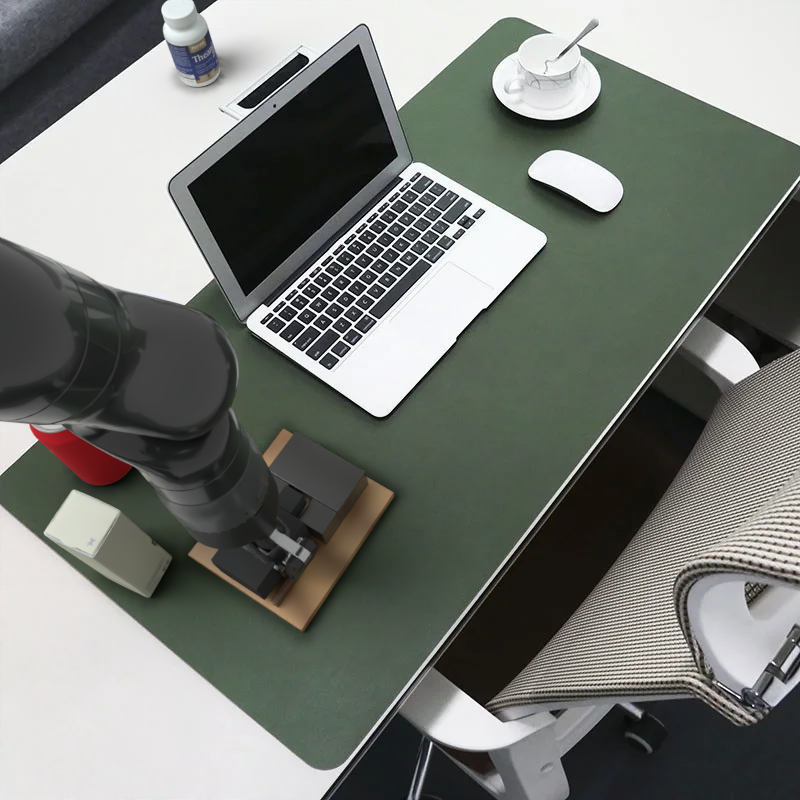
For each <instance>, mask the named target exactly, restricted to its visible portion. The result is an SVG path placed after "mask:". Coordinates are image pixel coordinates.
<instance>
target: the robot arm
mask: <svg viewBox="0 0 800 800" xmlns="http://www.w3.org/2000/svg"><path fill="white" fill-rule="evenodd" d="M239 367H240V366H239V359H238V355H237V352H236V349H235V347H234V344H233V342H232V340H231V338H230V336H229V334H228V332H227V330H225V328H224V327H223V326H222V324H220V323H219V322H218V321H217V320H216V319H215V318H214V317H213V316H211V315H210V314H208V313H206V312H205V311H202V310H200V309H198V308H196V307H193V306H189V305H185V304H182V303H178V302H175V301H171V300H167V299H163V298H158V297H155V296H150V295H147V294H142V293H137V292H134V291H129V290H124V289H121V288H118V287H114V286H113V285H112V286H111V285H109V284H105V283H103V282H101V281H98V280H96V279H95V278H93V277H91V276H90V275H87V274H86V273H84V272H82V271H81V270H78V269H76V268H73V267H72V266H69V265H68V264H66V263H63V262H60V261H59V260H56V259H54V258H52V257H50V256H47V255H45V254H43V253H41V252H40V251H39V252H38V251H36V250H34V249H31V248H30V247H27V246H24V245H22V244H19V243H17V242H14V241H12V240H10V239H8V238H5V237H2V236H0V422H2V423H3V422H4V423H15V424H24V425H29V424H34V425H35V424H36V425H59V424H61V425H62V426H63V427H65V428H66V429H67V430H69V431H70V432H72V433H73V434H75V435H76V436H78V437H79V438H81V439H83V440H84V441H86V442H88V443H90V444H91V445H93V446H95V447H97V448H99V449H100V450H102V451H104V452H106V453H107V454H109V455H111V456H113V457H115V458H117V459H119V460H121V461H123V462H125V463H127V464H130V465H132V468H133V467H134V468H135V469H136V470H137V471H138V472H139V474H140V475H141V476H142V477H143V478H144V480H146V481H147V483H148V484H149V485H150V486H151V488H153V489H154V491H155V494H156V495H157V497H158V499H159V500H160V502H161V503H162V505H163V506H164V508H166V510H167V511H168V512H169V513H170V514H171V515H172V516H173V517H174V518H175V519H176V521H177V522H178V523H179V524H180V525H181V526H182V527H183V528H184V530H186V531H187V533H188V534H189V535H190V536H191V537H192V538H193V539H194V540H195V541H197V542H200V543H201V544H203V545H205V546H208V547H211V548H215V549H223V550H226V549H235V548H239V547H241V548H243V549H245V550H246V551H248V552H249V553H250V554H251V555H253V556H254V557H255V558H256V559H258V560H260V561H261V562H263V563H265V564H269V563H270V564H271V565H272V566H273V568H274V569H275V570H276V572H277V573H278V574H279V575H280V576H282V577H283V578H286V577H287V576H288V575H289V576H288V577H290V578H291V579H292V580H294V579H295V580H297V581H298V580H299V579H300V577H301V575H302V573H303V572H304V570H305V569H306V568H307V566H308V565H309V563H310V562H311V561H312V560H313V558H314V557H315V554H316V550H317V545H316V544H315V542H314V541H313V540H312V539H308V538H304V539H303V538H301V537H299V538H298V540H297V541H296V542H295V541H293V540H292V539H290V529H289V528H288V527H287V526H286V525H285V524H284V523H283V521H282V520H281V519H280V518H279V517H278V516H277V511H278V503H279V492H278V487H277V484H276V481H275V479H274V477H273V475H272V473H271V471H270V469H269V467H268V465H267V464H266V462H265V460H264V458H263V454H262V452H261V450H260V447H258V444H257V443H256V441H255V440H254V439H253V437H252V435H250V434H249V432H247V430H246V429H245V428H244V426H243V424H242V422H241V421H240V418H239V416H238V415H237V413H236V411H235V410H234V408H233V406H232V405H233V403H234V401H235V398H236V395H237V393H238V392H237V391H238V386H239V381H240V368H239ZM257 547H259V548H257ZM279 549H280V550H279ZM278 550H279V551H278ZM276 553H277V554H276Z"/></svg>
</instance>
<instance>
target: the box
mask: <svg viewBox="0 0 800 800" xmlns="http://www.w3.org/2000/svg"><path fill="white" fill-rule="evenodd" d="M43 535H44V536H45V537H46V538H48V539H49V540H50V541H52V542H53V543H55V544H56V545H58V546H59V547H60V548H62V549H64V550H65V551H67V552H68V553H70V554H71V555H72V556H74V557H75V558H77V559H79V560H80V561H81V562H83V563H84V564H86V565H88V566H89V567H90V568H92V569H93V570H94V571H96V572H98V573H99V574H101V575H102V576H104V577H105V578H107V579H108V580H110V581H112V582H114V583H116V584H117V585H119V586H121V587H124V588H126V589H128V590H130V591H132V592H134V593H136V594H139V595H141V596H142V597H145V598H147V599H149V598H151V596H152V595H153V593H154V592H155V590H156V588H157V587H158V585H159V583H160V582H161V580H162V577H163V576H164V574H165V572H166V571H167V569H168V568H169V566H170V564H171V561H172V559H173V556H172V555H171V554H170V553H169V552H168V551H166V550H165V549H164V548H163V547H162V546H161V545H160V544H158V543H157V542H156V541H155V540H153V538H152V537H151V536H149V534H147V533H146V532H145V531H144V530H143V529H141V527H140V526H138V525H136V523H134V522H133V521H132V520H131V519H130V518H129V517H128V516H126V514H124V513H123V511H121V510H120V509H118V508H116V507H114V506H112V505H111V504H108V503H107V502H104V501H102V500H100V499H98V498H96V497H93V496H91V495H89V494H86V493H84V492H81V491H79V490H77V489H72V490H71V491H70V493H69V494H68V496H67V497H66V499H64V501H63V503H62V504H61V506H60V507H59V509H58V510H57V511H56V513H55V514H54V516H53V518H52V519H51V520H50V522H49V523H48V525H47V526H46V528H45V530H44V531H43Z"/></svg>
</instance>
